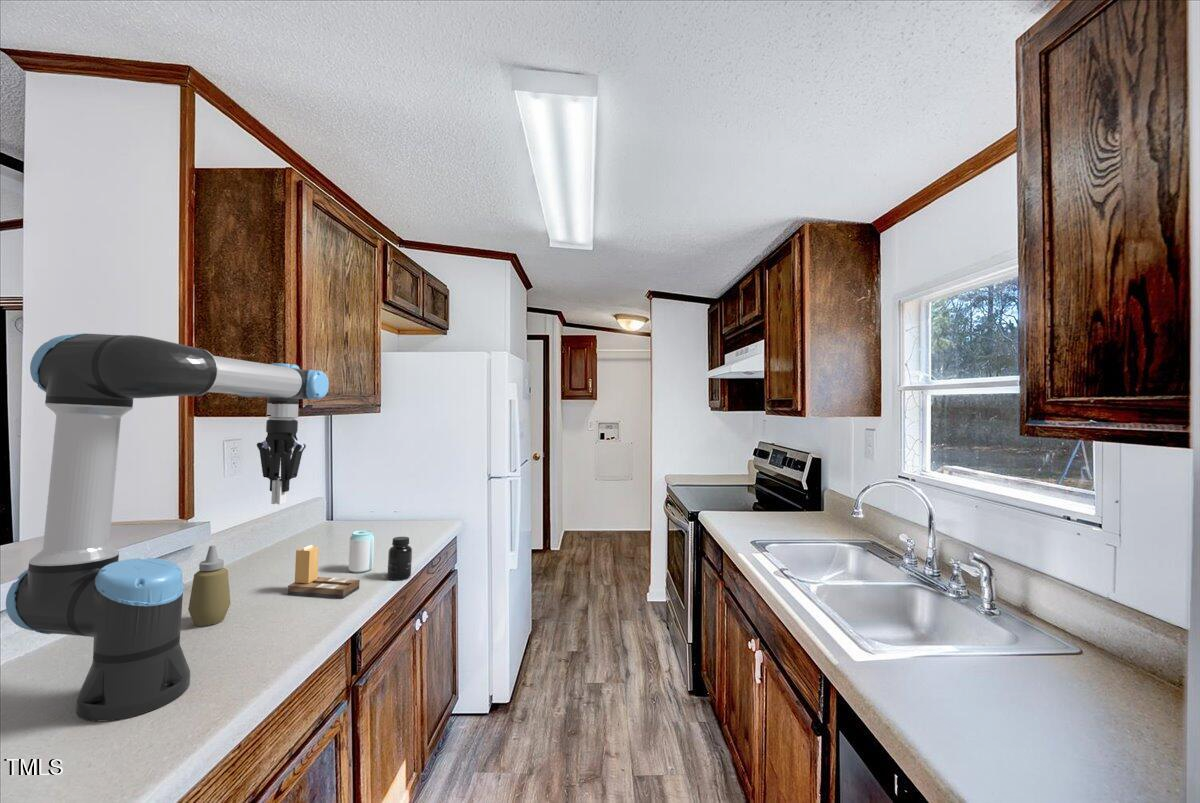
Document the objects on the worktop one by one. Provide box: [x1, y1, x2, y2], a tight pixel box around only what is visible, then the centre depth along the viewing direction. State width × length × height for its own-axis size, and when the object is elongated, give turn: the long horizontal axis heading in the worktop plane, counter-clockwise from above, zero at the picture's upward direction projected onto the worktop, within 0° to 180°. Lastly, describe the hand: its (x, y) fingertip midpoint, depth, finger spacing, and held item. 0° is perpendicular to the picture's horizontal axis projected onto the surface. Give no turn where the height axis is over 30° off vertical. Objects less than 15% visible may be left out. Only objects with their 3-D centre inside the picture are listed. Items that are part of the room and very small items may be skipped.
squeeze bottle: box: [188, 545, 231, 627], centre depth 124 cm, size 8×8×18 cm
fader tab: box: [294, 544, 320, 583], centre depth 146 cm, size 4×4×11 cm
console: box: [287, 576, 361, 600], centre depth 146 cm, size 16×8×3 cm, turn 85°
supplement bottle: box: [386, 536, 413, 581], centre depth 160 cm, size 7×7×12 cm
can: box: [348, 529, 375, 574], centre depth 165 cm, size 7×7×12 cm
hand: (278, 503), depth 145 cm, fingers closed
